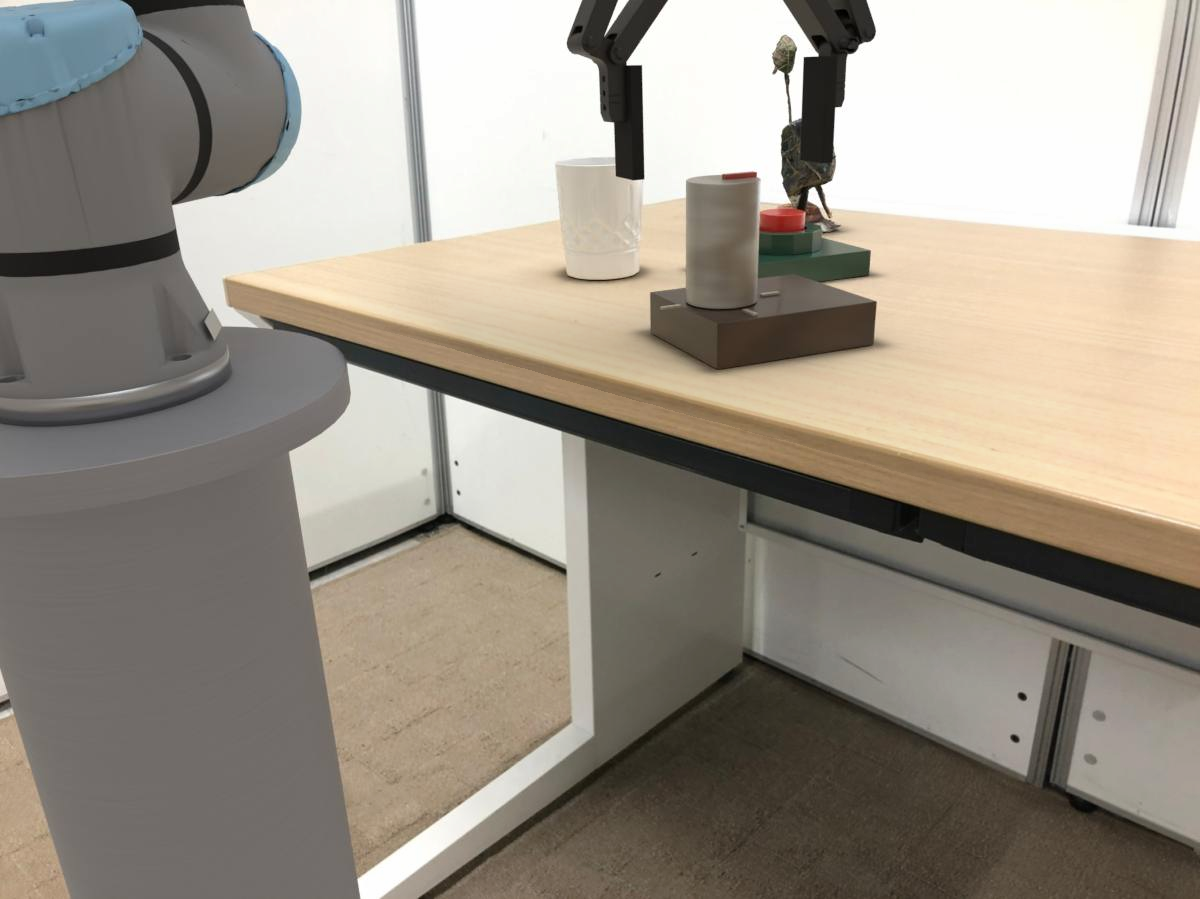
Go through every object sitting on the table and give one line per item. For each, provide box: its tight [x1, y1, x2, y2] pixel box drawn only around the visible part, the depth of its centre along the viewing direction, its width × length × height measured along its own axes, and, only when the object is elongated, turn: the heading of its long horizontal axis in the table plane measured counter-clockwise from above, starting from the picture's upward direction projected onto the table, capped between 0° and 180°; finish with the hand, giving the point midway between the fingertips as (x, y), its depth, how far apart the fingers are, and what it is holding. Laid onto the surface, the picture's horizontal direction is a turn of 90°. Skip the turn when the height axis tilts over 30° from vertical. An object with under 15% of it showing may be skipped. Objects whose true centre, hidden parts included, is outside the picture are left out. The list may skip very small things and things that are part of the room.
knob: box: [685, 171, 762, 309], centre depth 65 cm, size 5×5×8 cm
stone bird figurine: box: [771, 34, 842, 234], centre depth 105 cm, size 8×11×20 cm
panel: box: [649, 274, 878, 370], centre depth 68 cm, size 14×10×3 cm
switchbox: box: [758, 222, 872, 283], centre depth 88 cm, size 12×10×4 cm
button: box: [759, 208, 805, 232], centre depth 87 cm, size 4×4×2 cm
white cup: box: [554, 155, 644, 281], centre depth 89 cm, size 8×8×10 cm
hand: (726, 170), depth 63 cm, fingers open, 13 cm apart
